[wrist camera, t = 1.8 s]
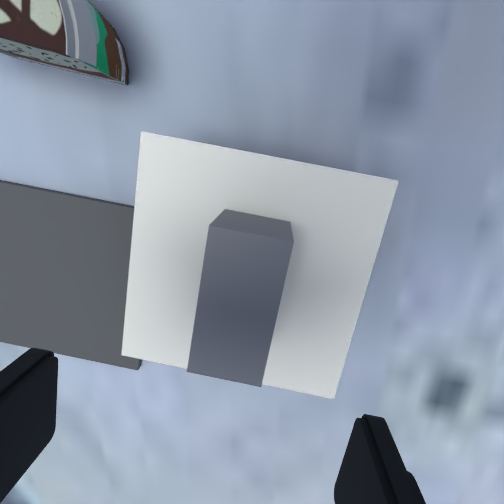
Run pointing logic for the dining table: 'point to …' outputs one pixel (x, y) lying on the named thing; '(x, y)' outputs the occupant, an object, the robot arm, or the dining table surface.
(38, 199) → the rubber mat
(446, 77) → the dining table surface
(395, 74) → the dining table surface
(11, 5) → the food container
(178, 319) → the lid
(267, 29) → the dining table surface
